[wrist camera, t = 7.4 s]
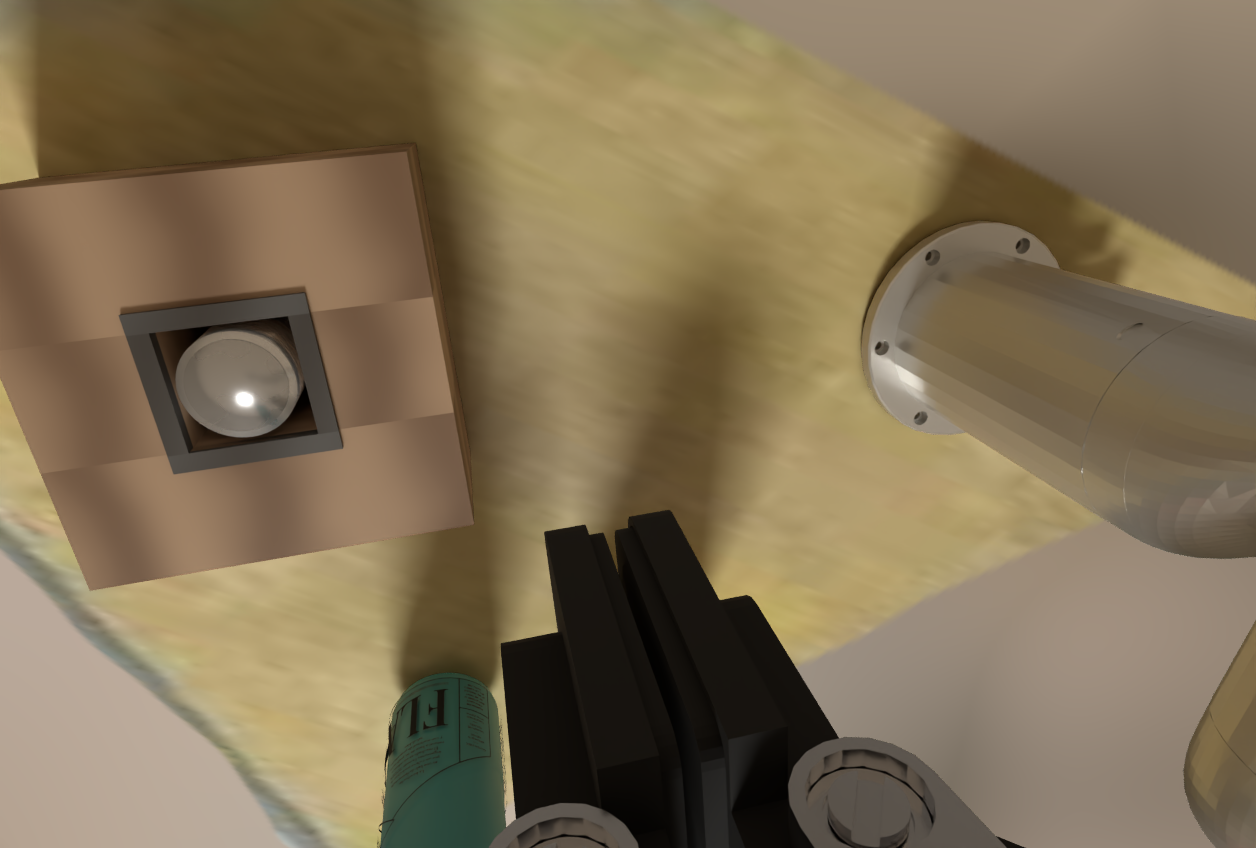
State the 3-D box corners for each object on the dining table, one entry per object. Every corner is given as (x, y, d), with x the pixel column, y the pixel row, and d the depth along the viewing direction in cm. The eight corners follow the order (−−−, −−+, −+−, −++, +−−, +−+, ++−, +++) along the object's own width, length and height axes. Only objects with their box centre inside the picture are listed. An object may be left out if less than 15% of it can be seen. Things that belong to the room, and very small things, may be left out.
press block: (415, 142, 36) (406, 151, 29) (470, 453, 42) (474, 526, 35) (38, 177, 34) (-80, 197, 26) (155, 502, 40) (88, 593, 32)
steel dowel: (314, 283, 37) (281, 324, 30) (334, 370, 39) (308, 429, 32) (216, 295, 36) (159, 340, 29) (242, 383, 38) (194, 446, 31)
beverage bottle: (450, 633, 46) (449, 971, 28) (521, 695, 49) (562, 1039, 31) (367, 698, 47) (313, 1071, 29) (442, 755, 50) (436, 1128, 31)
